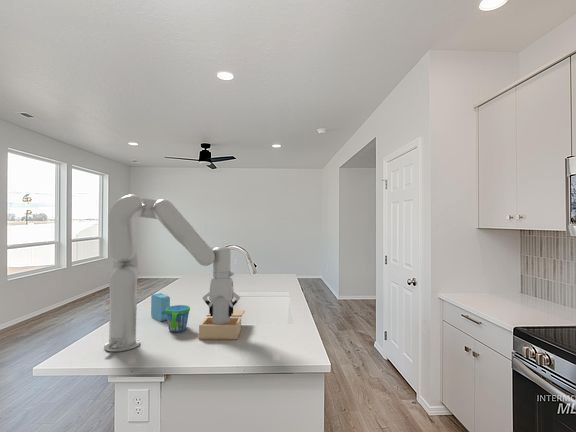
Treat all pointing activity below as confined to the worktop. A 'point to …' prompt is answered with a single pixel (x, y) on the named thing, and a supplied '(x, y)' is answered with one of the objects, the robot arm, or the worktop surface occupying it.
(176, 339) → the worktop surface
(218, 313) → the can
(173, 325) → the snack cup
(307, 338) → the worktop surface
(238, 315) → the lid
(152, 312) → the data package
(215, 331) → the box
